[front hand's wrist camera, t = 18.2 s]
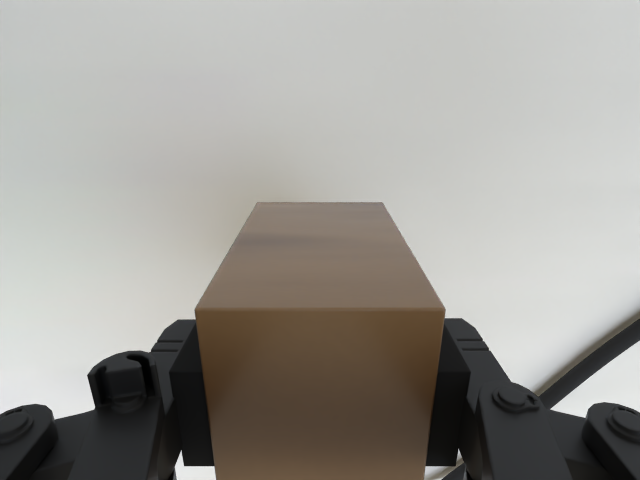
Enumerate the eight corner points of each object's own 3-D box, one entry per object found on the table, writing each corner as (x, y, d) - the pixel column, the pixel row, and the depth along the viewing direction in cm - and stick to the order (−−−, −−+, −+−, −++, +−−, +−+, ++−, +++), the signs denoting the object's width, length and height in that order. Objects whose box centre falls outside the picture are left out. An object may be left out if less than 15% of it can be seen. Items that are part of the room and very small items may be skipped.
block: (375, 329, 17) (420, 515, 10) (264, 329, 17) (219, 515, 10) (383, 202, 15) (446, 308, 8) (256, 202, 15) (193, 308, 8)
